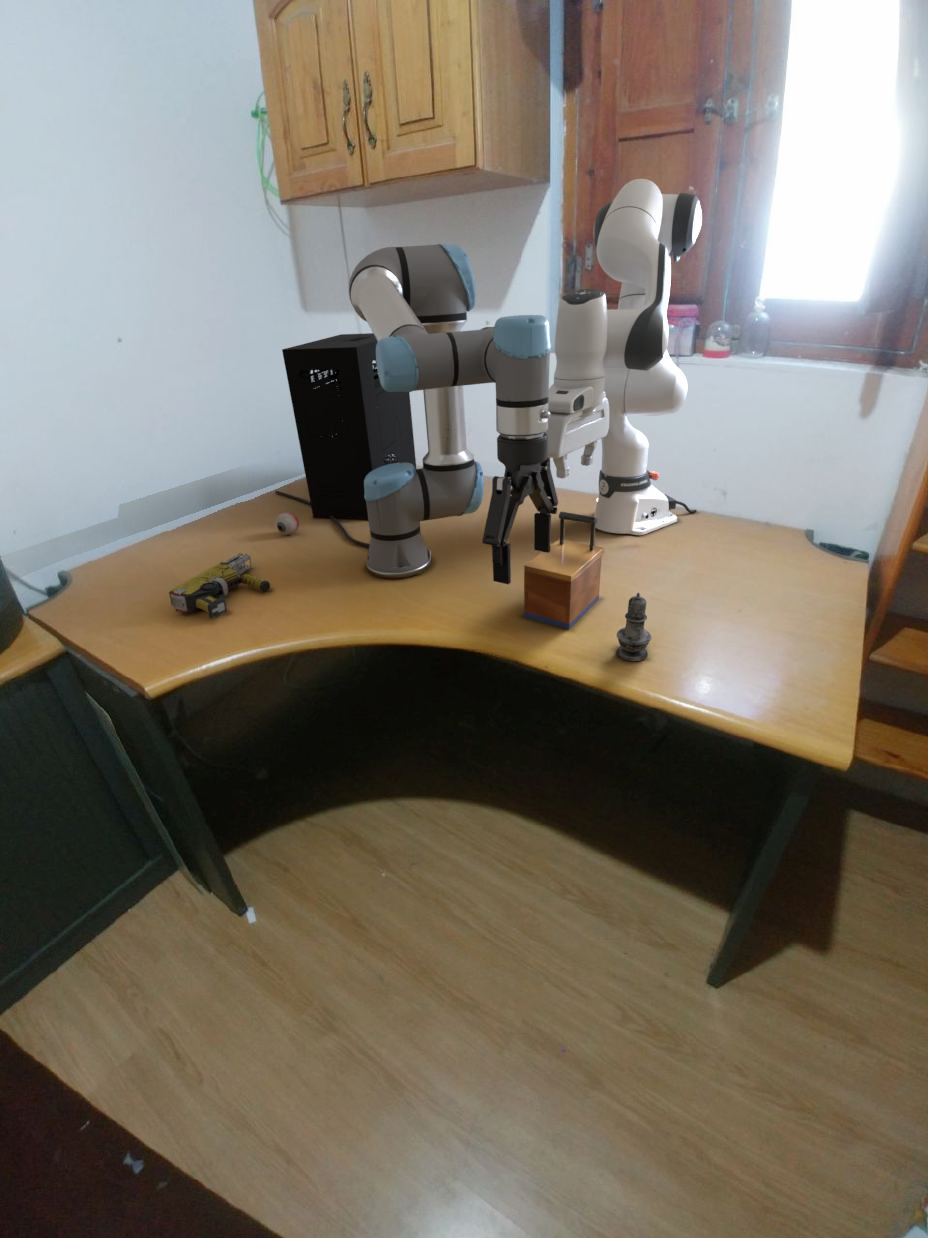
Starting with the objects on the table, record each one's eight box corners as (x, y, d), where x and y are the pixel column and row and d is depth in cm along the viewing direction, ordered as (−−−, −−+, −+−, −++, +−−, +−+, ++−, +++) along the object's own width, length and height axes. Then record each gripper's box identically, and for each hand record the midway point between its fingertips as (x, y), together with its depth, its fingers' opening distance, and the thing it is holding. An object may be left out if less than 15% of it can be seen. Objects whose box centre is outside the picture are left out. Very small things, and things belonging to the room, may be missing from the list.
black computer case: (378, 519, 171) (356, 347, 149) (313, 517, 176) (282, 349, 153) (417, 479, 203) (403, 331, 180) (361, 478, 207) (341, 334, 185)
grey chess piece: (650, 663, 103) (658, 601, 97) (615, 660, 105) (620, 600, 99) (648, 644, 108) (655, 585, 102) (614, 642, 110) (620, 583, 104)
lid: (559, 543, 125) (560, 507, 121) (603, 552, 120) (606, 514, 116) (524, 570, 115) (524, 531, 111) (571, 581, 110) (572, 541, 106)
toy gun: (291, 561, 141) (237, 550, 145) (223, 605, 121) (163, 591, 125) (293, 579, 143) (240, 568, 147) (226, 625, 123) (167, 611, 127)
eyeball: (273, 537, 164) (268, 516, 161) (287, 528, 169) (282, 508, 166) (291, 539, 161) (286, 518, 158) (305, 530, 166) (301, 510, 163)
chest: (555, 588, 129) (557, 545, 124) (598, 599, 124) (602, 554, 119) (524, 616, 120) (523, 571, 115) (569, 629, 115) (571, 582, 110)
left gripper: (501, 457, 78) (504, 602, 88) (581, 418, 95) (576, 542, 106) (453, 451, 81) (461, 591, 92) (539, 414, 99) (538, 535, 109)
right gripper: (589, 383, 116) (585, 455, 123) (533, 402, 102) (532, 482, 109) (620, 385, 113) (614, 459, 119) (566, 404, 99) (563, 487, 106)
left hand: (523, 565), depth 99 cm, fingers open, 13 cm apart
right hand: (574, 470), depth 114 cm, fingers open, 8 cm apart
